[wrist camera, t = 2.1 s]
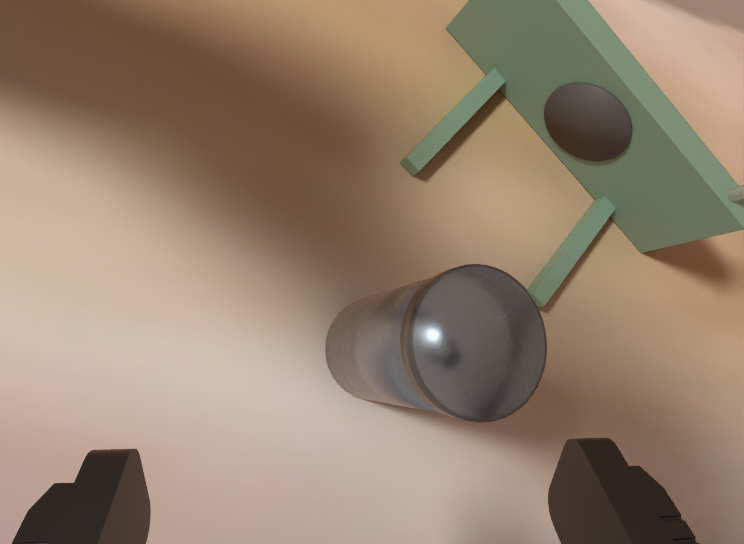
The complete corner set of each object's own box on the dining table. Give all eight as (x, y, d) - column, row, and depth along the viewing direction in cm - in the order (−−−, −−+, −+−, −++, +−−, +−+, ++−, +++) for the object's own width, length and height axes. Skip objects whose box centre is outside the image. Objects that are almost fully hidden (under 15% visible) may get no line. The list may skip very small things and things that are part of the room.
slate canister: (302, 351, 31) (378, 345, 20) (371, 276, 33) (474, 233, 22) (377, 424, 32) (490, 456, 21) (439, 346, 34) (571, 338, 23)
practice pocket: (353, 112, 35) (570, -173, 16) (462, 13, 39) (731, -302, 21) (602, 380, 38) (1010, 396, 20) (677, 263, 43) (1069, 186, 24)
